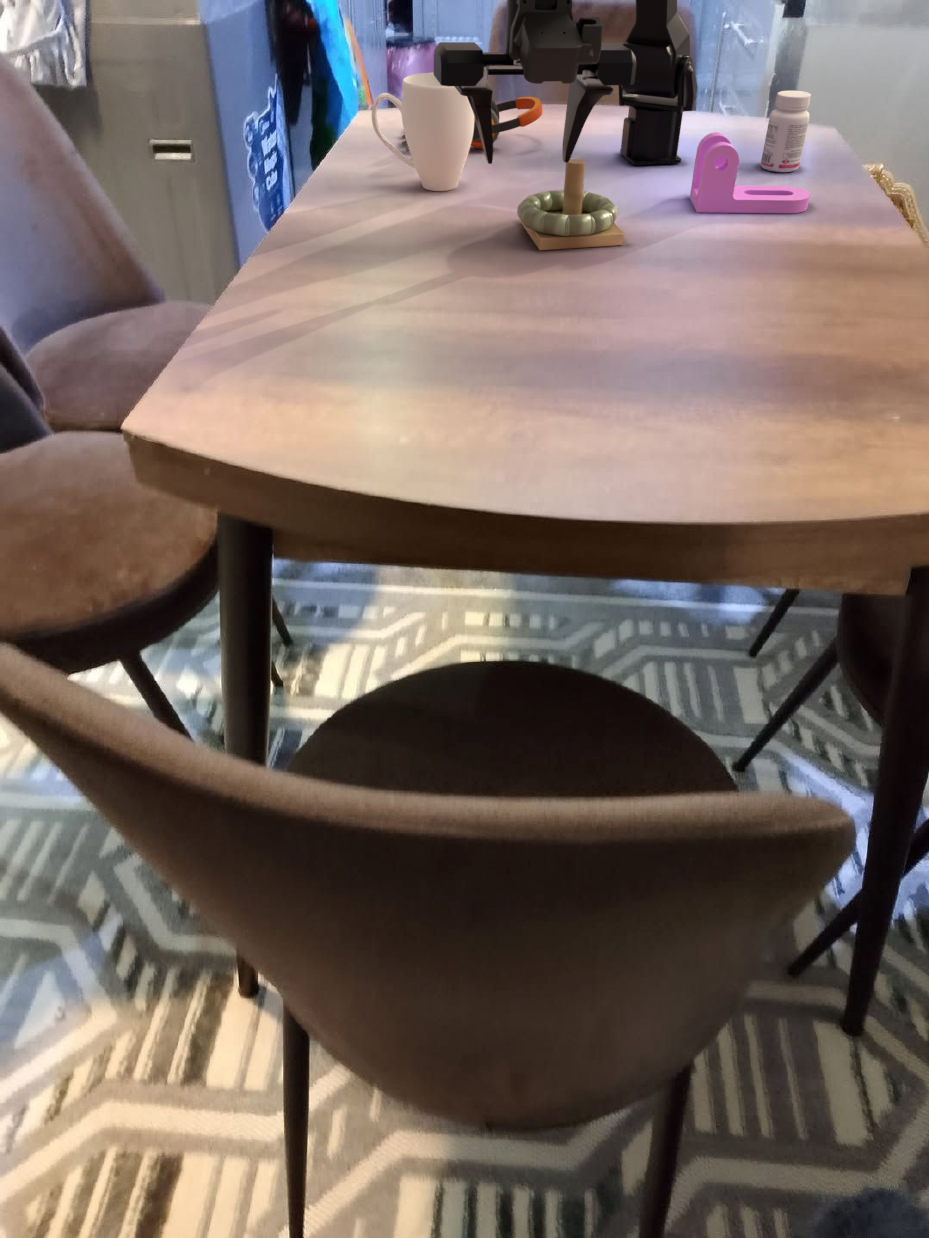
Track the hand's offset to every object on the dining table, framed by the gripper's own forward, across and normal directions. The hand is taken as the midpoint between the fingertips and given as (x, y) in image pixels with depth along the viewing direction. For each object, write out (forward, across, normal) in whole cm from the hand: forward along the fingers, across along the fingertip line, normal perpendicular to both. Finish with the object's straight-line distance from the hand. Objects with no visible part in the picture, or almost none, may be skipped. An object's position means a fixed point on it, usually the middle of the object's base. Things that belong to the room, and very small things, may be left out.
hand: (527, 162), depth 92 cm
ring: (+5, +5, 0) cm, 7 cm away
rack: (+7, +5, 0) cm, 9 cm away
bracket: (+7, +28, +6) cm, 30 cm away
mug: (+8, -8, +20) cm, 23 cm away
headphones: (+7, +1, +39) cm, 40 cm away
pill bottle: (+6, +38, +20) cm, 44 cm away
